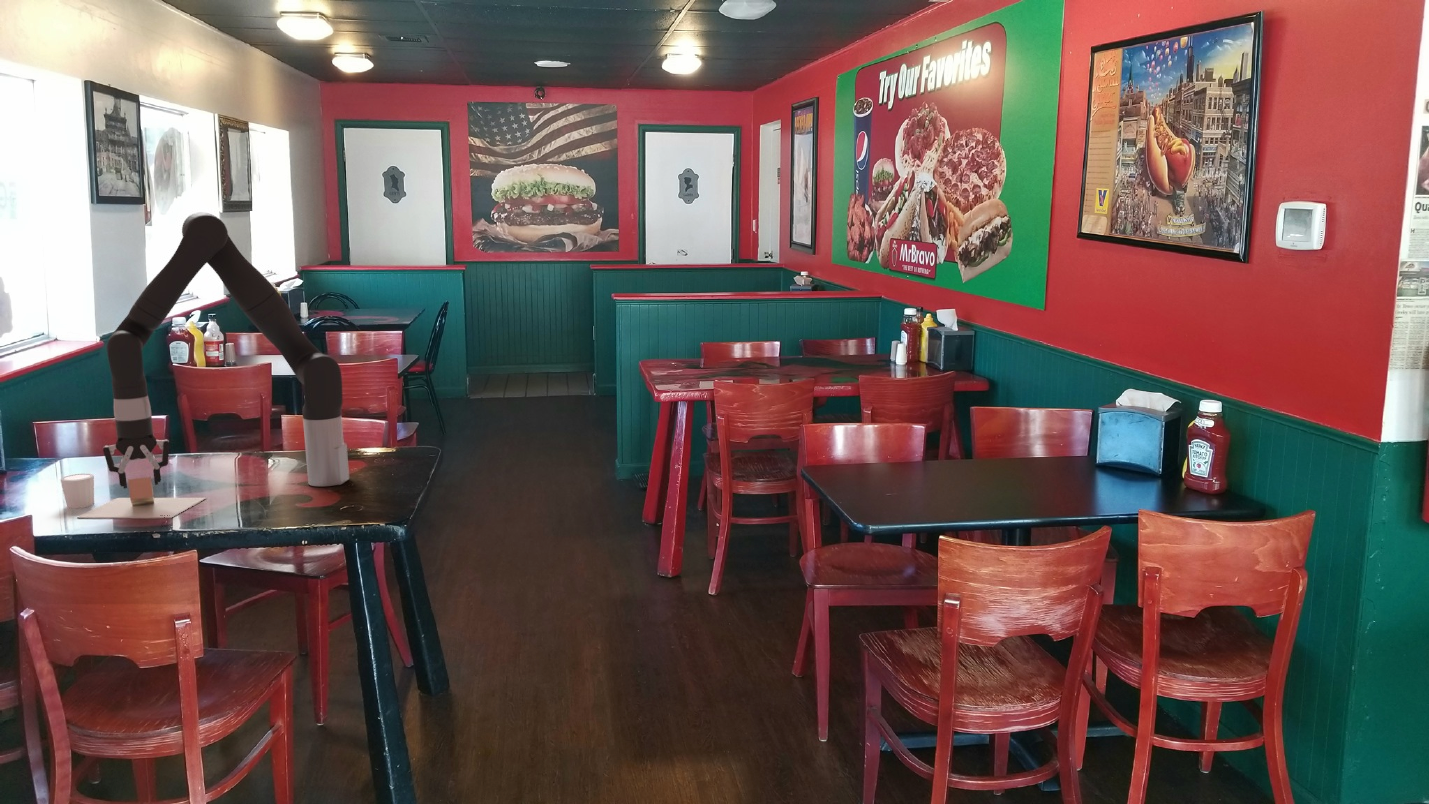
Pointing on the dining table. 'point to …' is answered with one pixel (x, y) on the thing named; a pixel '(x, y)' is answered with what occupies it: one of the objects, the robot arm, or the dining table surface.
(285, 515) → the dining table surface
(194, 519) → the dining table surface
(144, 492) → the birch block
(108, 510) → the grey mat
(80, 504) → the beige tapered cup
